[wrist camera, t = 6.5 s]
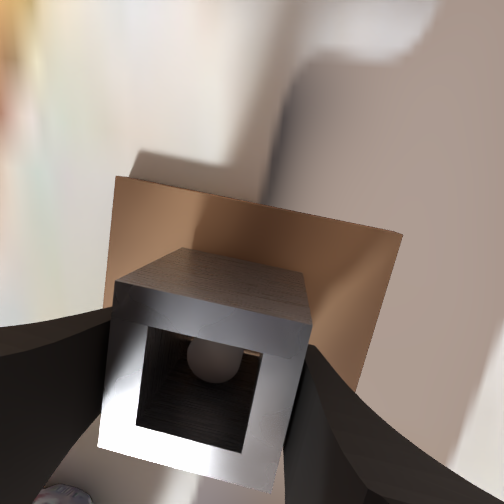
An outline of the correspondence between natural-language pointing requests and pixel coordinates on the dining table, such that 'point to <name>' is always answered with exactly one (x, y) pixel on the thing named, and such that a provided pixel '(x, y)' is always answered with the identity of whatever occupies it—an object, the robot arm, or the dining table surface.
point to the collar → (192, 387)
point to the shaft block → (263, 252)
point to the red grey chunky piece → (62, 495)
